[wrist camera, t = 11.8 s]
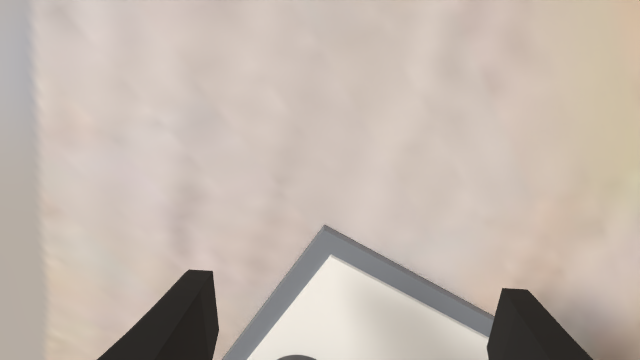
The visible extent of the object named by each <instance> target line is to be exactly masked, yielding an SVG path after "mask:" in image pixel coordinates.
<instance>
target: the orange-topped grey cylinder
mask: <svg viewBox="0 0 640 360" xmlns="http://www.w3.org/2000/svg"><path fill="white" fill-rule="evenodd" d="M277 360H316V359H314V358H312V357H309V356H305V355H288V356H284V357H281V358H279V359H277Z"/></svg>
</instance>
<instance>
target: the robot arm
mask: <svg viewBox="0 0 640 360" xmlns="http://www.w3.org/2000/svg"><path fill="white" fill-rule="evenodd" d="M218 332H219V326H218V317H217V307H216V298H215V289H214V280H213V271H203V270H188V271H187V272H185V273H184V274H183V276H182V277H181V278H180V279H179V280H178V281H177V282H176V283H175V284H174V285H173V286H172V287H171V288H170V289H169V291H168V292H167V293H166V294H165V295H164V296H163V297H162V298H161V299H160V300H159V301H158V302H157V303H156V304H155V305H154V306H153V307H152V308H151V309H150V310H149V311H148V312H147V313H146V314H145V315H144V316H143V317H142V318H141V319H140V320H139V321H138V322H137V323H136V324H135V325H134V326H133V327H132V328H131V329H130V330H129V331H128V332H127V333H126V334H125V335H124V336H123V337H122V338H120V339H119V340H118V341H117V342H116V343H115V344H114V345H113V346H112V347H111V348H109V349H108V350H107V351H106V352H105V353H104V354H103V355H102V356H101V357H99V358H98V359H97V360H212V358H213V354H214V350H215V345H216V341H217V336H218ZM487 353H488V359H489V360H593V359H592V358H591V357H590V356H589V355H588V354H587V353H586V352H585V351H584V350H583V349H582V348H581V347H580V346H579V345H578V344H577V343H576V342H575V341H574V339H573V338H572V337H571V336H570V335H569V334H568V333H567V332H566V331H565V330H564V329H563V328H562V327H561V326H560V324H559V323H558V322H557V321H556V320H555V319H554V318H553V317H552V316H551V315H550V314H549V312H548V311H547V310H546V309H545V308H544V307H543V306H542V305H541V304H540V302H539V301H538V300H537V299H536V298H535V297H534V296H533V295H532V294H531V293H530V292H529V291H528V290H524V289H507V288H502V291H501V295H500V299H499V303H498V306H497V310H496V314H495V317H494V321H493V325H492V329H491V332H490V336H489V340H488V343H487Z"/></svg>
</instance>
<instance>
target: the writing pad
mask: <svg viewBox="0 0 640 360" xmlns="http://www.w3.org/2000/svg"><path fill="white" fill-rule="evenodd" d="M493 321H494V316H492V315H490V314H489V313H487V312H485V311H483V310H481V309H479V308H478V307H476V306H474V305H472V304H470V303H468V302H466V301H465V300H463V299H461V298H459V297H457V296H455V295H453V294H452V293H450V292H448V291H446V290H444V289H442V288H441V287H439V286H437V285H435V284H433V283H431V282H429V281H428V280H426V279H424V278H422V277H420V276H418V275H416V274H415V273H413V272H411V271H409V270H407V269H405V268H404V267H402V266H400V265H398V264H396V263H394V262H392V261H391V260H389V259H387V258H385V257H383V256H381V255H379V254H378V253H376V252H374V251H372V250H370V249H368V248H367V247H365V246H363V245H361V244H359V243H357V242H355V241H354V240H352V239H350V238H348V237H346V236H344V235H342V234H341V233H339V232H337V231H335V230H333V229H331V228H330V227H328V226H326V225H324V226H323V227H322V229H321V230H320V231H319V233H318V234H317V235H316V236H315V238H314V239H313V240H312V242H311V243H310V244H309V246H308V247H307V248H306V250H305V251H304V252H303V254H302V255H301V256H300V258H299V259H298V260H297V261H296V263H295V264H294V265H293V267H292V268H291V269H290V271H289V272H288V273H287V275H286V276H285V277H284V279H283V280H282V281H281V283H280V284H279V285H278V286H277V288H276V289H275V290H274V292H273V293H272V294H271V296H270V297H269V298H268V300H267V301H266V302H265V304H264V305H263V306H262V308H261V309H260V310H259V311H258V313H257V314H256V315H255V317H254V318H253V319H252V321H251V322H250V323H249V325H248V326H247V327H246V329H245V330H244V331H243V333H242V334H241V335H240V336H239V338H238V339H237V340H236V342H235V343H234V344H233V346H232V347H231V348H230V350H229V351H228V352H227V354H226V355H225V356H224V358H223V359H222V360H277V359H279V358H281V357H284V356H288V355H305V356H309V357H312V358H314V359H316V360H489V359H488V353H487V343H488V340H489V336H490V332H491V329H492V325H493Z"/></svg>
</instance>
